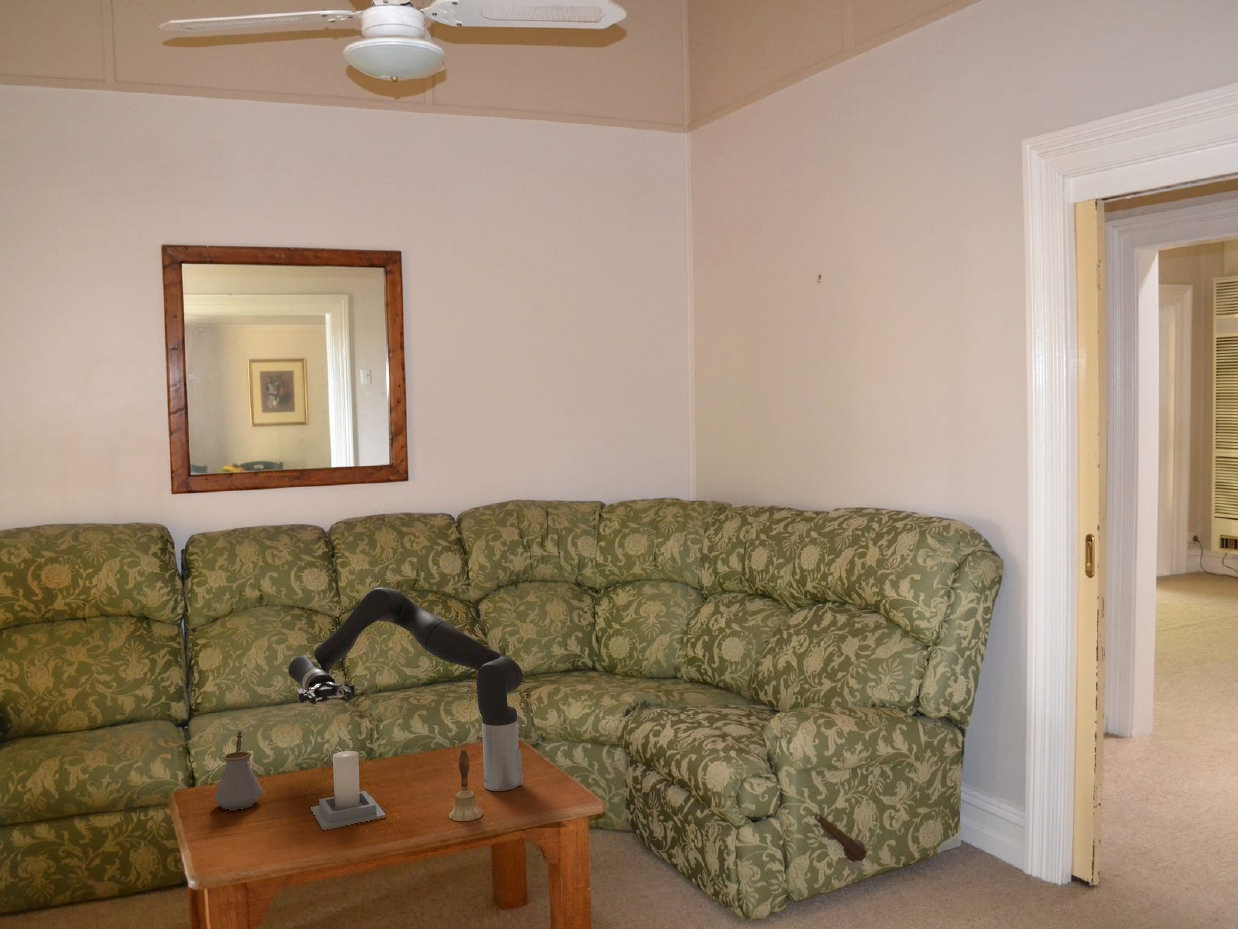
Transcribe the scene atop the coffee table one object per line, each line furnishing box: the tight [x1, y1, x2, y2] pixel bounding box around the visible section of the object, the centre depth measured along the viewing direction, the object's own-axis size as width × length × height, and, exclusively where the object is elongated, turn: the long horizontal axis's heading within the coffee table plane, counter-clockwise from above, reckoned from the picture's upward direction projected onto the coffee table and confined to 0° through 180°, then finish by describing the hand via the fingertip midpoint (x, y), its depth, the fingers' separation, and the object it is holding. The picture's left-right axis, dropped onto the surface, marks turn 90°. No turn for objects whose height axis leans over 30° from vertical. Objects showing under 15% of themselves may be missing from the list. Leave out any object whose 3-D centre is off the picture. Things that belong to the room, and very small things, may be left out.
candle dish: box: [310, 790, 387, 831], centre depth 260 cm, size 15×15×3 cm
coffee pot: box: [214, 730, 263, 811], centre depth 273 cm, size 21×12×15 cm, turn 16°
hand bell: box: [448, 749, 484, 822], centre depth 256 cm, size 8×8×16 cm
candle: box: [332, 750, 360, 811], centre depth 259 cm, size 6×6×14 cm
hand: (331, 698), depth 271 cm, fingers open, 8 cm apart
